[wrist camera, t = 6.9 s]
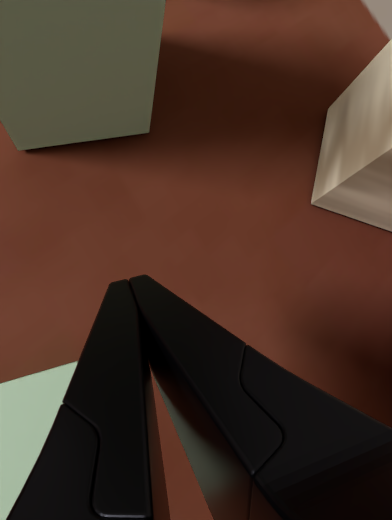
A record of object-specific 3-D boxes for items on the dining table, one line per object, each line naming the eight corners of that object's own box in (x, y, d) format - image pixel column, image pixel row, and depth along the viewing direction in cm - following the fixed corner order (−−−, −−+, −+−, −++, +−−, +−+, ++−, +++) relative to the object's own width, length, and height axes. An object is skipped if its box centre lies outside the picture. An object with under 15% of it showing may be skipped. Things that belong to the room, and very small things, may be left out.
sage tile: (118, 541, 13) (117, 550, 13) (-91, 631, 11) (-102, 647, 11) (79, 360, 14) (77, 361, 14) (-118, 417, 12) (-130, 421, 12)
